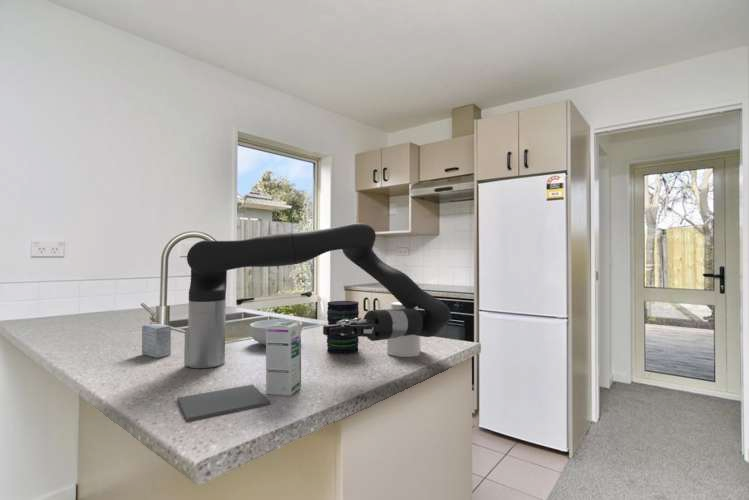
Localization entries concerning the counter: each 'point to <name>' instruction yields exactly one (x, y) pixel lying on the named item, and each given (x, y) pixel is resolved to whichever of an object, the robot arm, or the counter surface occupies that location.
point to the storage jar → (337, 313)
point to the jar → (403, 341)
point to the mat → (221, 402)
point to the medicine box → (156, 340)
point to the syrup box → (283, 358)
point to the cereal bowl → (260, 328)
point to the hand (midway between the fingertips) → (324, 330)
